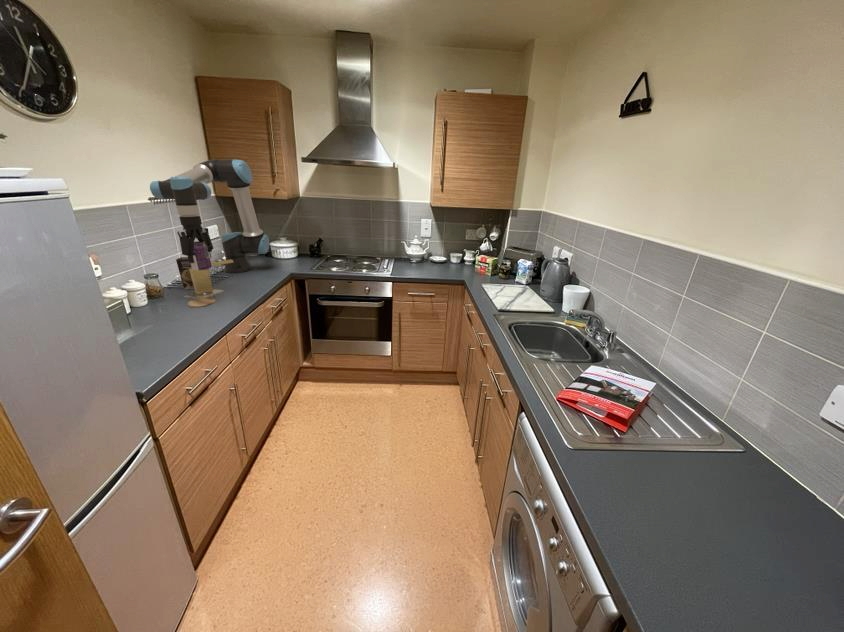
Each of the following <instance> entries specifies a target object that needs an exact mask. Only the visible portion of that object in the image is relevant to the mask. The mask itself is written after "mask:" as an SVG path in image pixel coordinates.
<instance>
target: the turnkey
mask: <svg viewBox="0 0 844 632" xmlns="http://www.w3.org/2000/svg"><path fill="white" fill-rule="evenodd" d="M227 263H233V260H226V259H224V260H220V261H212V265H213V266H212V267H215V266H220V265H221V266H222V265H225V264H227ZM189 271H190V274H191V278H192V282H193V285H194V289H193V290H194V292H195V293H196V294H202V293H206V292H211V291H213V289H214V288H213V284H212V283H213V282H212V280H211V276H210V272H209V269H207V270H192V268H191V269H189Z"/></svg>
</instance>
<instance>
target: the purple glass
mask: <svg viewBox="0 0 844 632" xmlns="http://www.w3.org/2000/svg"><path fill="white" fill-rule="evenodd" d="M193 255H195V257H196V261H197V265H198V269H199V270H207V269H208V270H210V269H211V268H212V267H213V266H212V265H211V261H212V260H211V261H210V257H209V253H208V249H207V246H206V244H205V242H199V241H194V249H193Z"/></svg>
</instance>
